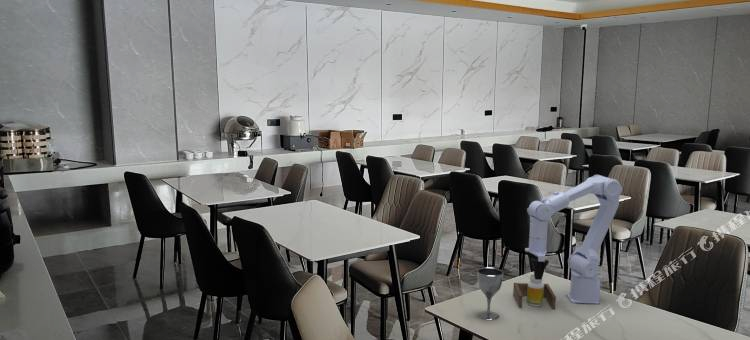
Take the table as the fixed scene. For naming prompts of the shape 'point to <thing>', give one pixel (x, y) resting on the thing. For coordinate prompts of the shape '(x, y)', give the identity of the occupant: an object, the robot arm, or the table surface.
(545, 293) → the walnut stall
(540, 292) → the supplement bottle
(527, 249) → the robot arm
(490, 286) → the wine glass
